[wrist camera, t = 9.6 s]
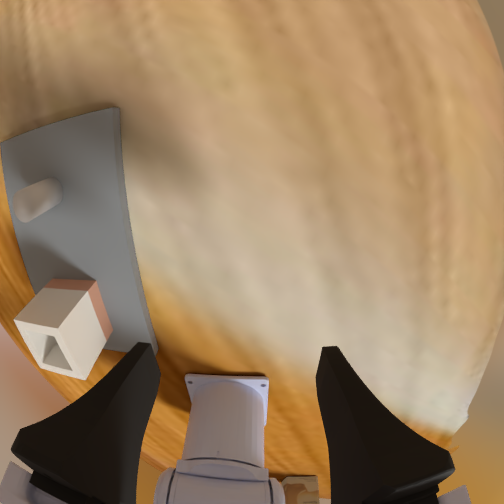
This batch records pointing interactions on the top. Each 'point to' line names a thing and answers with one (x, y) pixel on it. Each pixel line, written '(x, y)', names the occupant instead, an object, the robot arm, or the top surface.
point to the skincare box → (301, 490)
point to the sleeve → (66, 326)
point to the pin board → (78, 216)
